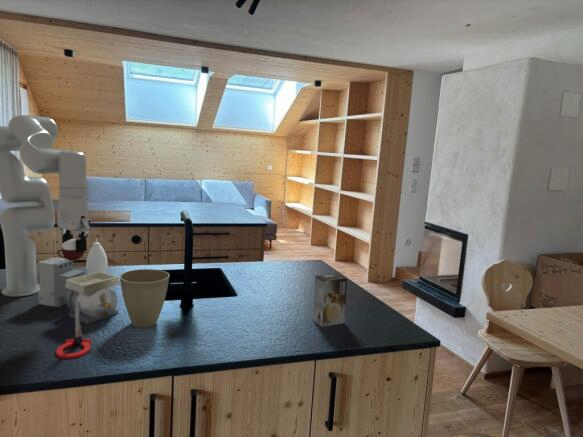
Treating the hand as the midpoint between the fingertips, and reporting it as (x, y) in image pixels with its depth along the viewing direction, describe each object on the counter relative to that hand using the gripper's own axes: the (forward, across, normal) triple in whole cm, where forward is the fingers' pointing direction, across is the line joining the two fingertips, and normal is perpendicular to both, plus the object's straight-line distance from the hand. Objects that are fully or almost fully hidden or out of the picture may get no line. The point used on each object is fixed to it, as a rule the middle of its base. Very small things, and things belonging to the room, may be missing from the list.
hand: (74, 249), depth 136 cm
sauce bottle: (+24, -33, +28) cm, 49 cm away
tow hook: (+24, +19, -11) cm, 32 cm away
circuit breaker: (+24, -17, +6) cm, 30 cm away
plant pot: (+23, +18, +13) cm, 32 cm away
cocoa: (+3, 0, 0) cm, 3 cm away
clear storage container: (+23, 0, +6) cm, 24 cm away
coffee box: (+23, +63, +53) cm, 85 cm away
